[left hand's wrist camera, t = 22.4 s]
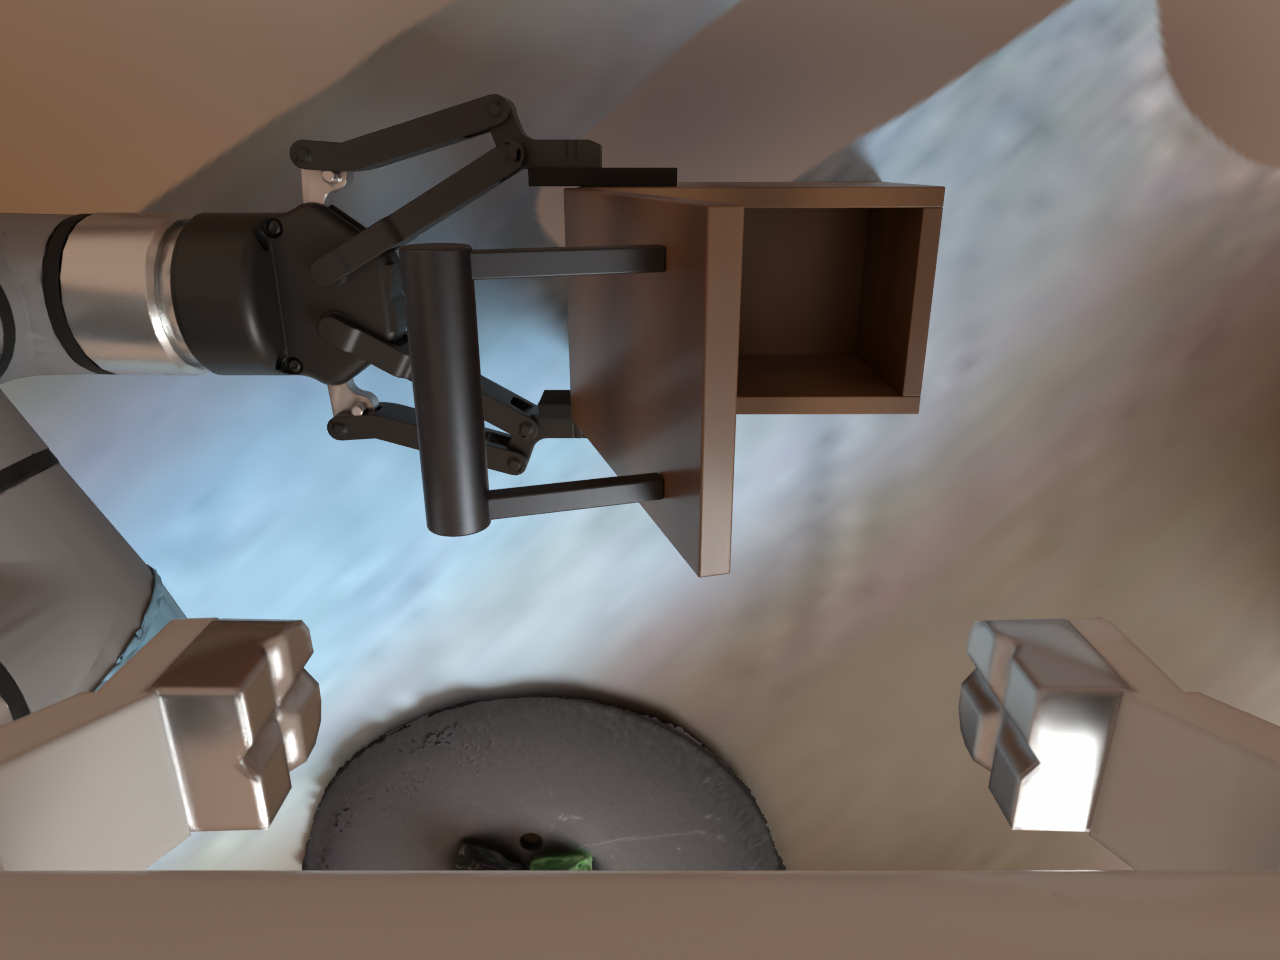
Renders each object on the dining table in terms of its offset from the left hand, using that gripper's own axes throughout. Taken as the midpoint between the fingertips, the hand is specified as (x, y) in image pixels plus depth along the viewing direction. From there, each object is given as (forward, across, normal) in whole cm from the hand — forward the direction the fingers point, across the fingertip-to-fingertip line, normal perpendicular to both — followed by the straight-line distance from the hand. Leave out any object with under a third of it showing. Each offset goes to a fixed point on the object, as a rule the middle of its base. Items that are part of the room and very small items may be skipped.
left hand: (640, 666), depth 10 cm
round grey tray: (+38, +7, +44) cm, 59 cm away
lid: (+20, 0, 0) cm, 20 cm away
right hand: (+31, -2, 0) cm, 31 cm away
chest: (+38, -5, 0) cm, 38 cm away
